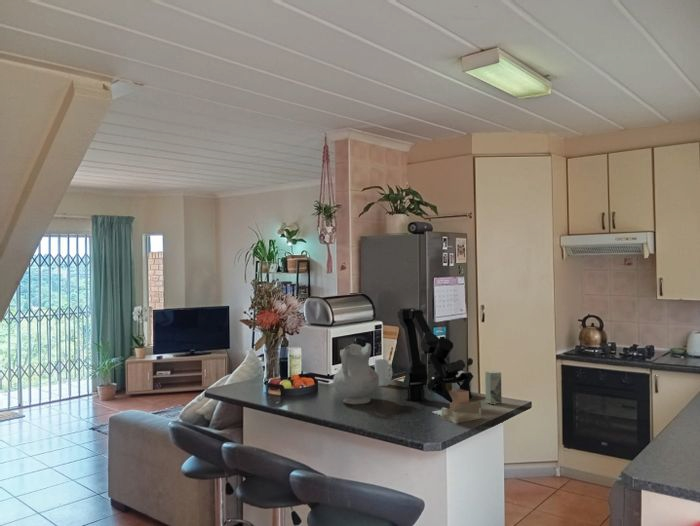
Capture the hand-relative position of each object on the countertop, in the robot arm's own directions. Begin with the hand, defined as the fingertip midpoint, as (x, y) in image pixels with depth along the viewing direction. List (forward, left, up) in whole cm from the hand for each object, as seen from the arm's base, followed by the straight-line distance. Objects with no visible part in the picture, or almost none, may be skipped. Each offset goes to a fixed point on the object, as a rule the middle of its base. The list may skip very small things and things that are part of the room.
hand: (461, 400), depth 201 cm
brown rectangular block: (-1, 0, -7) cm, 7 cm away
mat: (-8, +3, -7) cm, 11 cm away
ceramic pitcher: (-50, -1, -7) cm, 50 cm away
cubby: (-1, 0, -7) cm, 7 cm away
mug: (-60, +33, -7) cm, 69 cm away
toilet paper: (-21, +32, -7) cm, 39 cm away
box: (-1, +28, -7) cm, 29 cm away
